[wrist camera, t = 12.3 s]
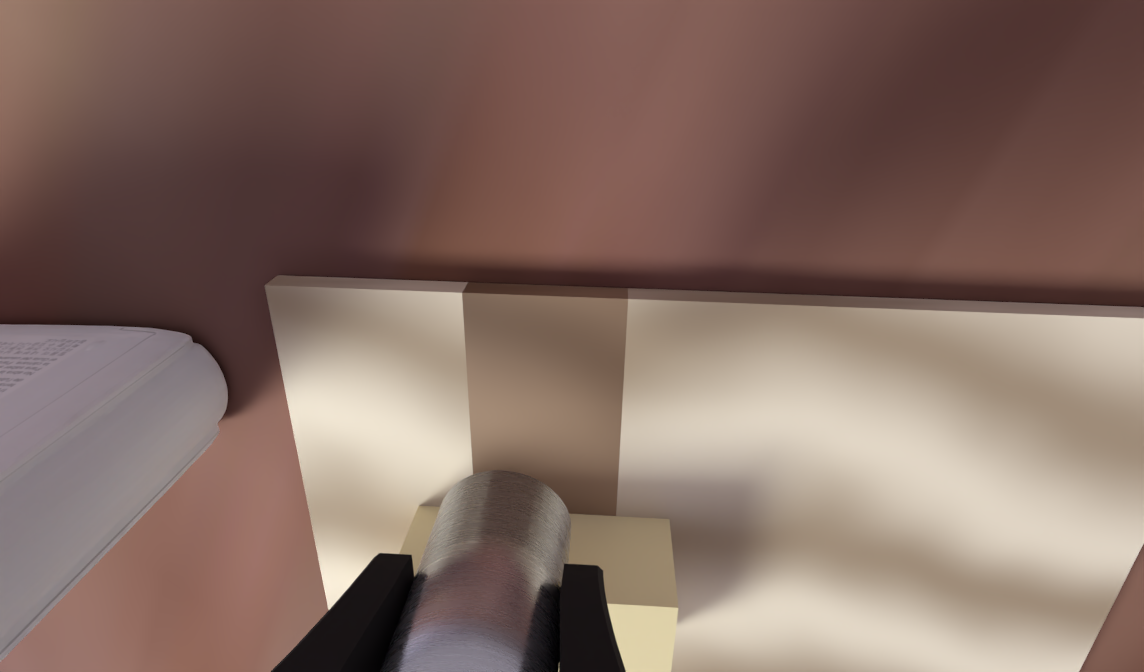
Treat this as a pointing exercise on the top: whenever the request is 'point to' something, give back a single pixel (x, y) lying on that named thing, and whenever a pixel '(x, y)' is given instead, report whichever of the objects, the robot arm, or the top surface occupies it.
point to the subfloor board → (752, 453)
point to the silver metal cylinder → (487, 581)
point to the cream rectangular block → (612, 578)
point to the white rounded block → (89, 448)
